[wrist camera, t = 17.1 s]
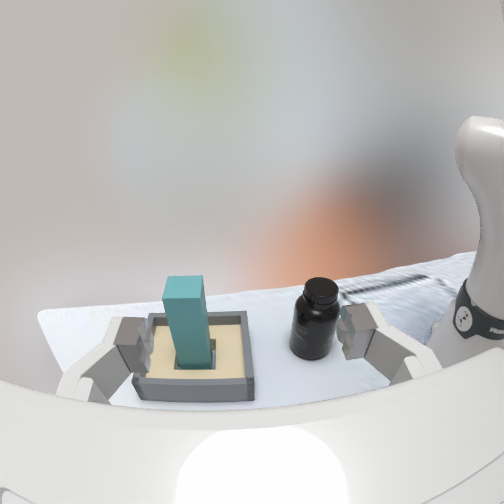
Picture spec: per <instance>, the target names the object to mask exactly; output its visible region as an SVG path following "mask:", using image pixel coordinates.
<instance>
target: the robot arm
mask: <svg viewBox="0 0 504 504" xmlns="http://www.w3.org/2000/svg"><path fill="white" fill-rule="evenodd" d="M501 7H502V13H503V19H504V0H501ZM455 159H456V164H457V167H458V170H459V172H460V174H461V176H462V178H463V180H464V181H465V183H466V184H467V185H468V187H469V189H470V190H471V192H472V194H473V197H474V199H475V201H476V204H477V207H478V211H479V216H480V227H481V229H480V231H481V232H480V240H479V245H478V250H477V253H476V257H475V260H474V263H473V266H472V269H471V272H470V274H469V277H468V278H467V279H466V280H465V281H464V283H463V285H462V286H461V288H460V290H459V292H458V296H457V298H456V299H453V300H452V301H451V303H450V305H449V306H448V308H447V310H446V311H445V313H444V315H443V316H442V318H441V320H440V321H439V322H435V323H434V324H433V326H432V328H431V337H430V338H429V340H428V342H427V344H426V346H425V345H423V344H421V343H420V342H418V341H416V340H415V339H413V338H411V337H410V336H408V335H406V334H405V333H403V332H401V331H400V330H398V329H396V328H395V327H393V326H389V325H388V323H387V321H386V320H385V318H384V316H383V315H382V313H381V311H380V310H379V308H378V306H377V305H376V303H375V302H367V303H361V304H353V305H346V306H342V307H341V309H340V312H339V313H340V315H341V317H340V318H339V319H338V321H337V325H336V332H337V337H338V340H339V341H340V342H341V343H343V347H342V350H343V353H344V355H345V358H346V360H352V359H358V358H364V359H365V360H367V361H368V362H369V363H370V364H371V365H372V366H374V367H375V368H376V369H377V370H378V371H379V372H381V373H382V374H383V375H384V376H385V377H386V378H387V379H389V380H390V381H391V383H390V385H389V386H387V387H383V388H380V389H376V390H372V391H367V392H363V393H359V394H354V395H349V396H345V397H339V398H334V399H329V400H323V401H317V402H311V403H304V404H297V405H289V406H280V407H271V408H259V409H245V410H222V411H181V410H158V409H144V408H133V407H124V406H116V405H111V404H110V402H109V401H108V400H109V399H110V397H111V396H112V395H113V394H114V393H115V391H116V390H117V389H118V388H119V387H120V386H121V384H122V383H123V382H124V381H125V380H126V379H127V377H128V376H129V375H130V374H131V373H149V369H150V365H151V359H150V357H149V356H150V355H151V354H152V353H153V350H154V338H153V334H152V332H151V331H150V330H149V329H148V326H149V323H148V320H147V318H139V317H113V318H112V319H111V322H110V324H109V327H108V329H107V332H106V334H105V337H104V339H103V342H102V344H98V345H97V346H96V347H95V348H93V349H92V350H91V351H90V352H88V353H87V354H86V355H85V356H84V357H82V358H81V359H80V360H79V361H78V362H76V363H75V364H74V365H73V366H71V367H70V368H69V369H68V370H67V371H65V372H64V373H63V376H62V378H61V381H60V384H59V386H58V389H57V392H56V394H55V395H54V394H49V393H45V392H41V391H37V390H34V389H30V388H26V387H23V386H20V385H16V384H13V383H10V382H7V381H4V380H1V379H0V504H504V120H501V119H496V118H489V117H480V116H471V117H470V118H468V119H467V120H466V121H465V122H464V123H463V124H462V126H461V127H460V129H459V131H458V133H457V136H456V140H455Z"/></svg>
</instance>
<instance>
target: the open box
mask: <svg viewBox="0 0 504 504" xmlns="http://www.w3.org/2000/svg"><path fill="white" fill-rule="evenodd" d="M207 317H208V324H209V332H210V339H211V346H212V349H216V370H178V365H179V361H178V357H177V354H176V350H175V347H174V343H173V339H172V336H171V332H170V328H169V324H168V321H167V317H166V313H149V315H148V319H147V320H148V323H149V326H148V329H149V330H150V331H151V332H152V334H153V338H154V350H153V353H152V354H151V355H150V356H149V357H150V359H151V365H150V369H149V373H134V374H133V378H132V384H133V386H134V388H135V390H136V392H137V393H138V395H139V397H140V399H141V400H152V401H170V402H233V401H252V400H254V375H253V366H252V357H251V348H250V338H249V329H248V320H247V311H231V312H207Z"/></svg>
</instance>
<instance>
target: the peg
mask: <svg viewBox="0 0 504 504" xmlns="http://www.w3.org/2000/svg"><path fill="white" fill-rule="evenodd" d="M162 300H163V304H164V308H165V313H166V317H167V321H168V324H169V328H170V332H171V336H172V339H173V343H174V347H175V350H176V354H177V357H178V361H179V364H180V367H181V370H212V360H213V352H212V346H211V339H210V332H209V324H208V317H207V309H206V301H205V294H204V285H203V276H169V277H168V279H167V282H166V286H165V290H164V293H163V297H162Z"/></svg>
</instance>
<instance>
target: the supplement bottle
mask: <svg viewBox="0 0 504 504" xmlns="http://www.w3.org/2000/svg"><path fill="white" fill-rule="evenodd" d="M338 289H339V288H338V286H337V284H336V283H335V282H333V281H332V280H330V279H327V278H322V277H315V278H312V279H309V280H308V281H307V282H306V284H305V287H304V291H303V294H302V295H301V296H300V297H299V298H298V299H297V301H296V303H295V308H294V315H293V323H292V330H291V337H290V346H291V348H292V350H293V351H294V353H296V354H297V355H298V356H300V357H302V358H305V359H318V358H321V357H323V356H325V355H326V354H327V353H328V352H329V350H330V348H331V345H332V341H333V338H334V334H335V331H336V325H337V321H338V319H339V316H340V313H339V312H340V309H341V308H340V304H339V302H338V301H337V297H338V291H339V290H338Z"/></svg>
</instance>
